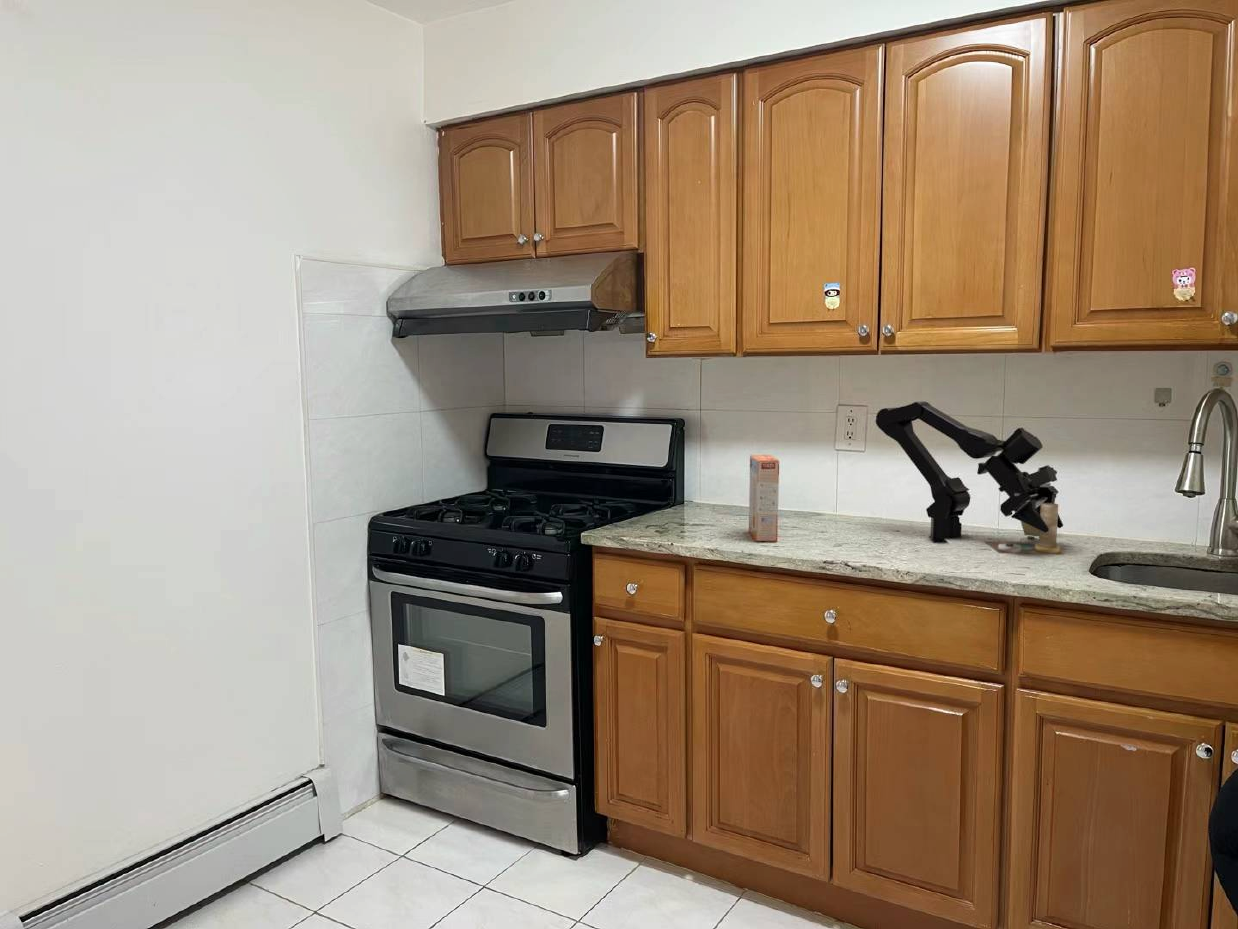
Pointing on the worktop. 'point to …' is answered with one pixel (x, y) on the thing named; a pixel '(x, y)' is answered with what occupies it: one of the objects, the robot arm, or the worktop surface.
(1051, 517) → the gear spindle
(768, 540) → the cracker box
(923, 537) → the worktop surface
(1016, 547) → the gear board
